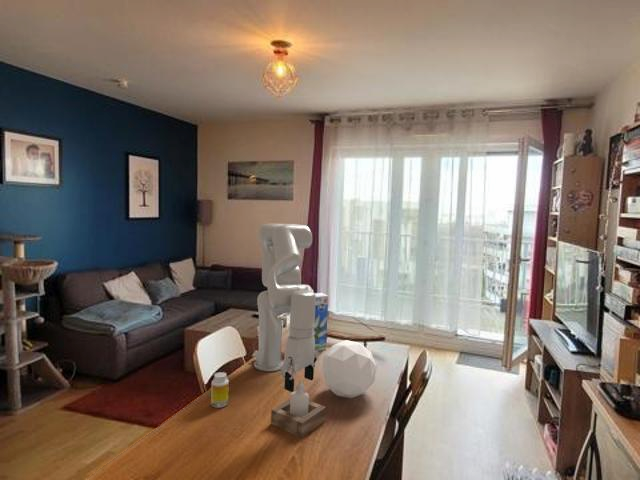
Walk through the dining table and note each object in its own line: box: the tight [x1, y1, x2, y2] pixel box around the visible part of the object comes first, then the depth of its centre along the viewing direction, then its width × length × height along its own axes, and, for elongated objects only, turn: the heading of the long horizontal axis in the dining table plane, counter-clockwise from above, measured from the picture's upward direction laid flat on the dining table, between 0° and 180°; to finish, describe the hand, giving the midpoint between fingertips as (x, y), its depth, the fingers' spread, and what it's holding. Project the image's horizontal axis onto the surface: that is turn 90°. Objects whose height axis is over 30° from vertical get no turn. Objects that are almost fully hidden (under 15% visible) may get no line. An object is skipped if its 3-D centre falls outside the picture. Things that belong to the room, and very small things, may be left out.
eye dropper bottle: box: [289, 379, 310, 418], centre depth 123 cm, size 4×6×12 cm
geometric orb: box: [321, 339, 377, 399], centre depth 143 cm, size 19×20×20 cm
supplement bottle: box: [210, 371, 230, 409], centre depth 132 cm, size 6×6×10 cm
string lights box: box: [314, 292, 329, 352], centre depth 186 cm, size 13×8×26 cm, turn 115°
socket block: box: [270, 398, 327, 439], centre depth 123 cm, size 12×12×4 cm
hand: (299, 384), depth 123 cm, fingers open, 9 cm apart
